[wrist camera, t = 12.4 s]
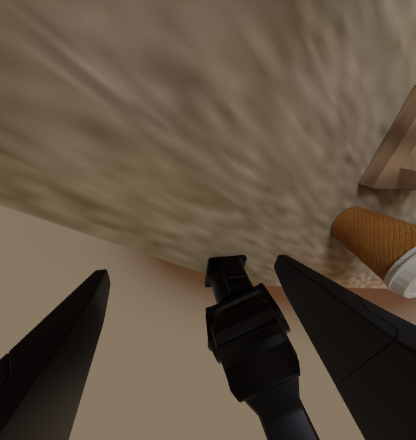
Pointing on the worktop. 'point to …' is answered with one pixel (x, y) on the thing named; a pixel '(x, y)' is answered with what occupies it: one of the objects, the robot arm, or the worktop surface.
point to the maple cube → (410, 161)
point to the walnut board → (395, 152)
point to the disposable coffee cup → (381, 246)
